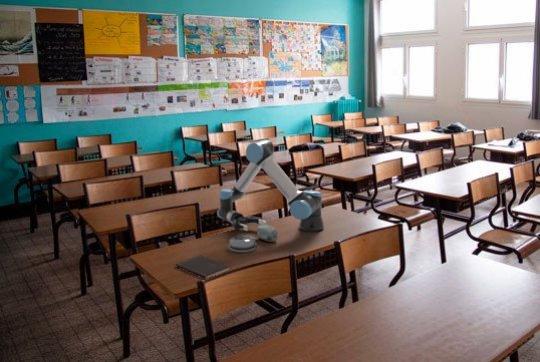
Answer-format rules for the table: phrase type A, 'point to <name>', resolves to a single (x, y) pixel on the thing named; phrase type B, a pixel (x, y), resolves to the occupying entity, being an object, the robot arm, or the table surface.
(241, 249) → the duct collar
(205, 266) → the hardcover book
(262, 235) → the grey rounded block
